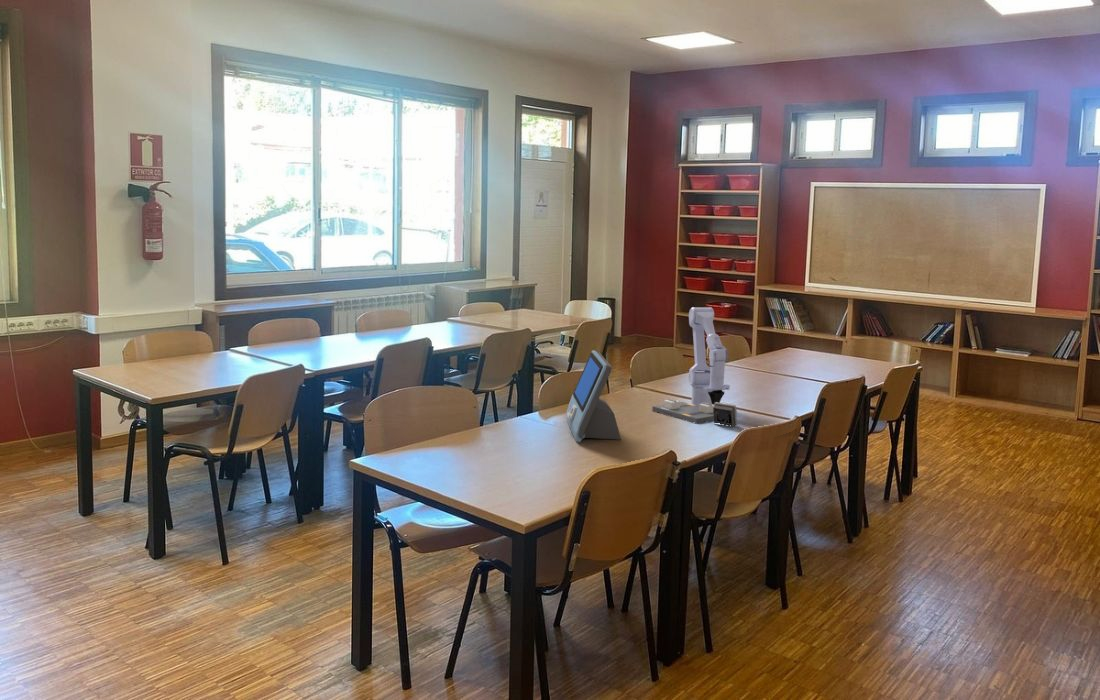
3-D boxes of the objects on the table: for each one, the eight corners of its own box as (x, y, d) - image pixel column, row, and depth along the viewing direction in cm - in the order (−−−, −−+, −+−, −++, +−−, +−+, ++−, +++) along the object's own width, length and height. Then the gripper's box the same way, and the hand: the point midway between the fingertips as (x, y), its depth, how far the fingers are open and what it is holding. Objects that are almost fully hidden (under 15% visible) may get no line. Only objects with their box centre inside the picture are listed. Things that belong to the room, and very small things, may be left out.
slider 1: (671, 405, 374) (671, 397, 373) (679, 408, 370) (680, 399, 369) (663, 407, 371) (663, 399, 370) (671, 409, 367) (671, 401, 366)
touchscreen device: (561, 420, 352) (566, 347, 347) (609, 422, 354) (614, 350, 349) (571, 443, 317) (576, 363, 313) (623, 445, 319) (630, 365, 314)
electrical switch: (737, 425, 351) (737, 404, 349) (732, 429, 347) (733, 407, 344) (715, 422, 356) (716, 400, 354) (710, 426, 352) (711, 404, 349)
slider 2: (706, 409, 368) (707, 401, 368) (715, 412, 364) (715, 403, 364) (698, 411, 365) (698, 402, 365) (707, 413, 362) (707, 405, 361)
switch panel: (681, 406, 384) (682, 401, 383) (726, 418, 363) (726, 413, 363) (652, 410, 373) (652, 406, 373) (696, 423, 352) (696, 418, 352)
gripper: (712, 379, 358) (710, 411, 360) (735, 376, 367) (733, 407, 369) (699, 376, 364) (698, 408, 366) (723, 373, 372) (721, 404, 375)
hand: (715, 407), depth 368 cm, fingers closed
